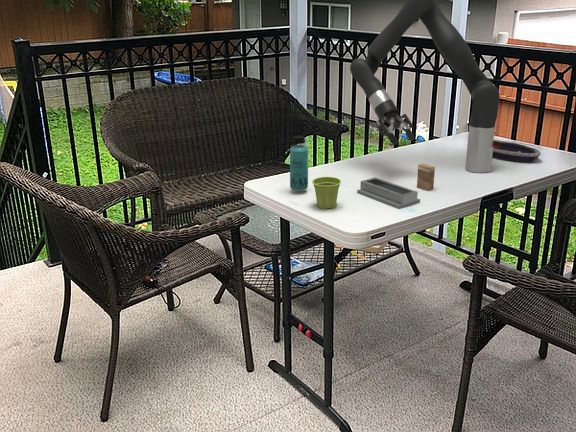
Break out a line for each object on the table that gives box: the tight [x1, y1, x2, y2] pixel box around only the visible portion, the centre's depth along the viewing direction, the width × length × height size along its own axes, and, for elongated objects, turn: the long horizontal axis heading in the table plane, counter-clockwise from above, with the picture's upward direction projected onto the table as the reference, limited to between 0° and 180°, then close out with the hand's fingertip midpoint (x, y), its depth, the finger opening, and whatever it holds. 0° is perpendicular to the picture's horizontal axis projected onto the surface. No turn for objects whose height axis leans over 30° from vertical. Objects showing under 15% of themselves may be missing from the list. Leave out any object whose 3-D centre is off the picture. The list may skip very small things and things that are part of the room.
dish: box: [492, 139, 542, 163], centre depth 247 cm, size 16×31×5 cm, turn 38°
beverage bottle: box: [289, 135, 309, 191], centre depth 207 cm, size 6×7×20 cm
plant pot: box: [311, 176, 342, 210], centre depth 195 cm, size 9×9×9 cm
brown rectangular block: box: [416, 162, 436, 192], centre depth 210 cm, size 3×5×8 cm, turn 36°
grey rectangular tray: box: [356, 176, 421, 210], centre depth 202 cm, size 10×20×4 cm, turn 36°
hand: (404, 141), depth 214 cm, fingers open, 8 cm apart
